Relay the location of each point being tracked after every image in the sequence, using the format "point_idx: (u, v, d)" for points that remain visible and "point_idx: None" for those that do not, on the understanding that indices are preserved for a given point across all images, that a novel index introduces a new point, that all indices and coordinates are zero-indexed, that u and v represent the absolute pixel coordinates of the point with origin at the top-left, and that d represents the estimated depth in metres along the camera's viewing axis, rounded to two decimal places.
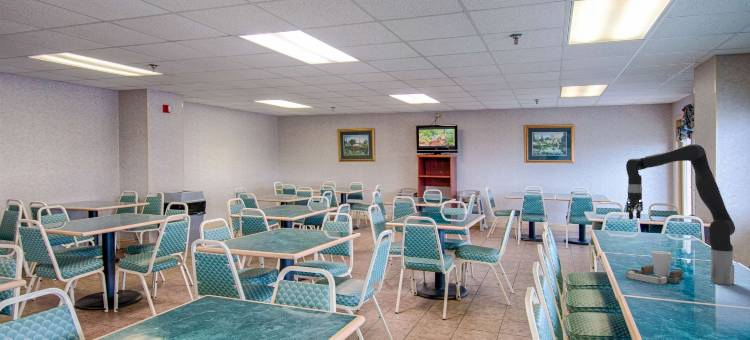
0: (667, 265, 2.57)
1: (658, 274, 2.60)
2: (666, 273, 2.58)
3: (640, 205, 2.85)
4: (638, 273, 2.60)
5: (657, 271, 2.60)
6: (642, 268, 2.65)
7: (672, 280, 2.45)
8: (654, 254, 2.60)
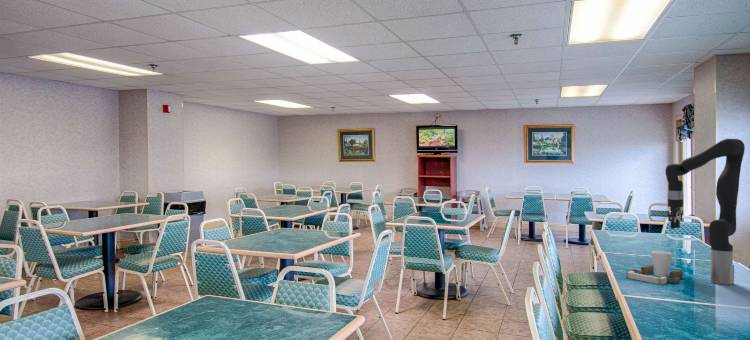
0: (667, 265, 2.57)
1: (658, 274, 2.60)
2: (666, 273, 2.58)
3: None
4: (638, 273, 2.60)
5: (657, 271, 2.60)
6: (642, 268, 2.65)
7: (672, 280, 2.45)
8: (654, 254, 2.60)
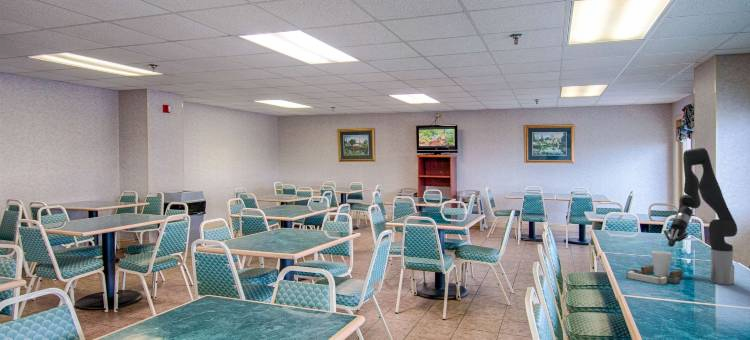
0: (667, 265, 2.57)
1: (658, 274, 2.60)
2: (666, 273, 2.58)
3: None
4: (638, 273, 2.60)
5: (657, 271, 2.60)
6: (642, 268, 2.65)
7: (672, 280, 2.45)
8: (654, 254, 2.60)
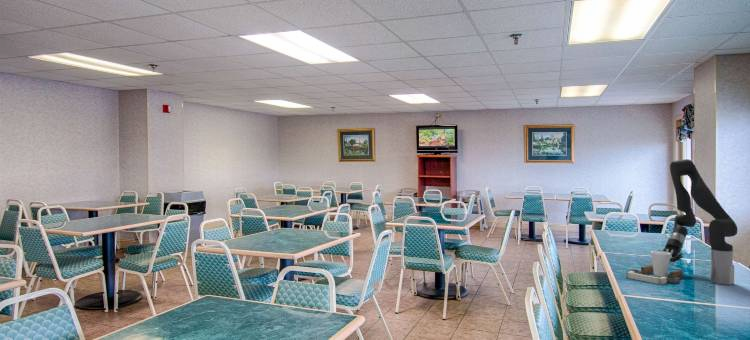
0: (666, 265, 2.57)
1: (657, 274, 2.59)
2: (665, 273, 2.58)
3: None
4: (638, 273, 2.60)
5: (656, 271, 2.59)
6: (642, 268, 2.65)
7: (672, 280, 2.45)
8: (653, 254, 2.60)
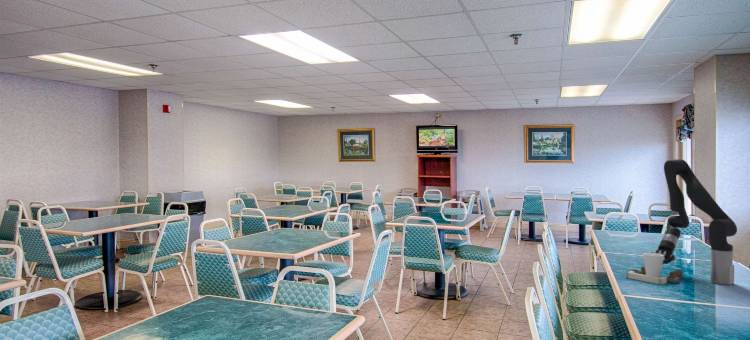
0: (660, 267, 2.52)
1: None
2: (659, 275, 2.53)
3: None
4: (638, 273, 2.60)
5: (650, 273, 2.54)
6: (642, 268, 2.65)
7: (672, 280, 2.45)
8: (647, 256, 2.54)
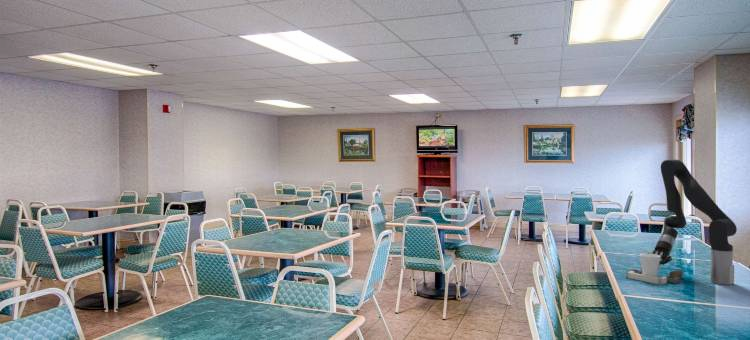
0: (656, 268, 2.50)
1: None
2: (655, 276, 2.51)
3: None
4: (638, 273, 2.60)
5: (646, 274, 2.52)
6: None
7: (672, 280, 2.45)
8: (643, 257, 2.52)
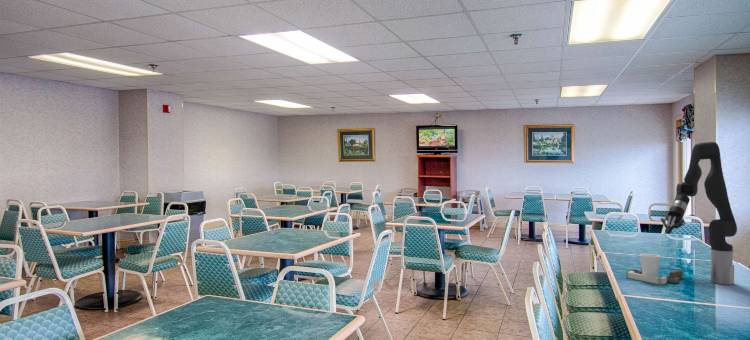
0: (656, 268, 2.50)
1: None
2: (655, 276, 2.51)
3: None
4: (638, 273, 2.60)
5: (646, 274, 2.52)
6: None
7: (672, 280, 2.45)
8: (643, 257, 2.52)
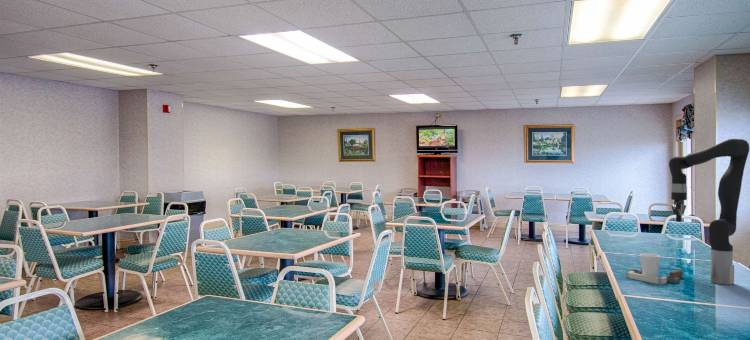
0: (656, 268, 2.50)
1: None
2: (655, 276, 2.51)
3: None
4: (638, 273, 2.60)
5: (646, 274, 2.52)
6: None
7: (672, 280, 2.45)
8: (643, 257, 2.52)
